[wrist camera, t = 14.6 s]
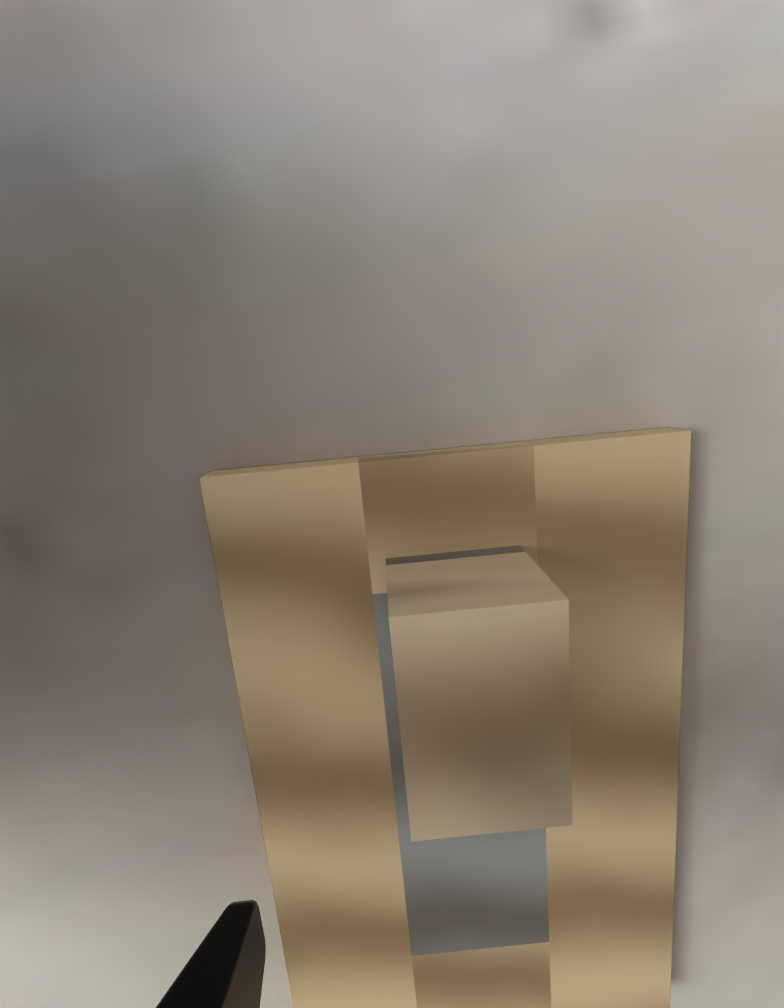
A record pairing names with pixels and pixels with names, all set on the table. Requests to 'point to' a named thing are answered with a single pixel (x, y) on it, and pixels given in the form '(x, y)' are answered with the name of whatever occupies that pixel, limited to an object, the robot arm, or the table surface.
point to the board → (376, 731)
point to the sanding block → (481, 692)
